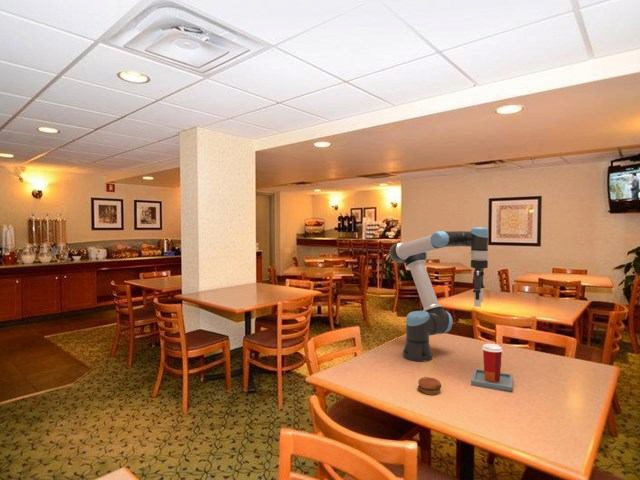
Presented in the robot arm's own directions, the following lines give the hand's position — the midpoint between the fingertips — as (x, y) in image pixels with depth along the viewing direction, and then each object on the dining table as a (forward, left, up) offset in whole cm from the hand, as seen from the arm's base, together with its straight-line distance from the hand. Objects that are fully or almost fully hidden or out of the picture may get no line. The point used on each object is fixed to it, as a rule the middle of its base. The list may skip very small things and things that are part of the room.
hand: (478, 303), depth 182 cm
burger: (+35, -16, -32) cm, 50 cm away
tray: (+13, +7, -32) cm, 35 cm away
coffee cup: (+13, +7, -31) cm, 34 cm away
